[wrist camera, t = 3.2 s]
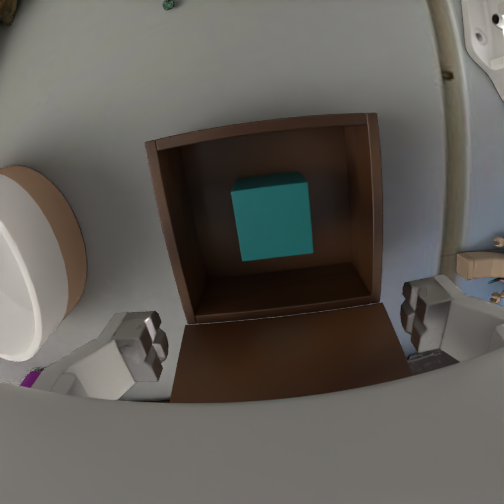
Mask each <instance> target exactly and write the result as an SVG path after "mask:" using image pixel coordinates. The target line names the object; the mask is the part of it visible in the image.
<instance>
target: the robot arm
mask: <svg viewBox="0 0 504 504" xmlns="http://www.w3.org/2000/svg"><path fill="white" fill-rule="evenodd" d="M461 5H462V13H463V23H464V36H465V47H466V50H467V52H468V54H469V55H470V57H471V58H472V59H473V60H474V61H475V62H476V63H477V64H478V65H479V66H480V67H481V68H482V69H483V70H484V71H485V72H486V73H487V74H488V76H489V77H490V78H491V80H492V82H493V84H494V86H495V87H496V89H497V91H498V93H499V95H500V97H501V98H502V100H503V102H504V0H461ZM476 36H477V38H478V40H477V38H476ZM402 294H403V296H404V297H405V301H404V302H403V303H402V305H401V312H400V316H401V323H402V326H403V328H404V330H405V332H407V333H409V334H411V342H412V344H413V345H414V347H415V349H416V350H417V352H418V353H420V352H424V351H429V350H433V349H437V348H440V349H441V350H442V351H444V352H446V353H447V354H449V355H450V356H452V357H453V358H455V359H456V360H458V361H460V363H456V364H453V365H450V366H447V367H443V368H440V369H437V370H433V371H429V372H426V373H422V374H418V375H414V376H411V377H407V378H402V379H398V380H394V381H390V382H385V383H380V384H376V385H371V386H366V387H361V388H355V389H350V390H344V391H338V392H331V393H325V394H318V395H311V396H303V397H294V398H285V399H275V400H263V401H249V402H230V403H152V402H134V401H120V400H118V399H119V398H120V397H121V396H122V395H123V394H124V393H125V392H126V391H128V390H129V389H130V388H131V387H132V386H133V385H134V384H135V382H158V380H159V378H160V375H161V372H162V369H163V367H162V365H161V363H162V362H163V361H164V360H166V358H167V355H168V340H167V336H166V333H165V332H164V331H163V330H161V329H160V328H159V327H160V324H161V319H160V317H159V314H158V313H157V312H156V311H146V312H122V313H115V314H114V315H113V317H112V318H111V320H110V321H109V323H108V324H107V326H106V327H105V329H104V330H103V332H102V333H101V335H100V336H99V338H98V339H93V340H92V341H90V342H88V343H87V344H85V345H83V346H82V347H80V348H78V349H77V350H75V351H73V352H72V353H70V354H68V355H67V356H65V357H63V358H62V359H60V360H58V361H57V362H55V363H53V364H52V365H50V366H48V367H47V368H45V369H43V371H42V372H41V374H40V375H39V376H38V378H37V379H36V381H35V382H34V384H33V385H32V387H31V388H28V387H23V386H18V385H14V384H9V383H5V382H1V381H0V504H504V307H501V306H499V305H496V304H493V303H490V302H487V301H484V300H482V299H479V298H476V297H473V296H466V295H465V294H464V293H463V292H462V291H461V290H460V289H459V288H458V287H457V286H456V285H455V284H454V283H453V282H452V281H451V280H450V279H449V278H448V277H447V276H446V275H443V274H442V275H438V276H433V277H429V278H424V279H419V280H414V281H409V282H405V283H404V286H403V292H402Z"/></svg>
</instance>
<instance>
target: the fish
mask: <svg viewBox="0 0 504 504" xmlns="http://www.w3.org/2000/svg"><path fill="white" fill-rule="evenodd" d="M16 4H17V0H0V20H1V21H2V22H3V23H4V25H5V26H7V27H8V26H11V23H12V22H13V19H14V16H13V14H14V13H15V11H16ZM11 7H12V8H11ZM10 9H11V10H10Z"/></svg>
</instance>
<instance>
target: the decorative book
mask: <svg viewBox="0 0 504 504" xmlns="http://www.w3.org/2000/svg"><path fill="white" fill-rule="evenodd" d="M167 2H168V3H167ZM173 7H174V2H173V0H165V1H164V2H163V8H164V9H165V10H169V9H172V8H173Z"/></svg>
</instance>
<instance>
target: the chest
mask: <svg viewBox="0 0 504 504" xmlns="http://www.w3.org/2000/svg"><path fill="white" fill-rule="evenodd" d="M145 148H146V154H147V159H148V164H149V169H150V174H151V179H152V184H153V189H154V194H155V199H156V203H157V208H158V212H159V217H160V221H161V225H162V229H163V234H164V238H165V242H166V246H167V250H168V254H169V258H170V262H171V266H172V270H173V273H174V277H175V281H176V284H177V288H178V292H179V295H180V299H181V302H182V306H183V309H184V313H185V316H186V320H187V323H188V324H197V323H198V324H201V323H215V322H227V321H238V320H249V319H259V318H268V317H278V316H286V315H295V314H303V313H311V312H319V311H326V310H333V309H340V308H347V307H354V306H360V305H367V304H370V303H371V304H373V303H379V302H380V294H381V278H382V253H383V192H382V168H381V151H380V138H379V127H378V117H377V113H348V114H328V115H314V116H301V117H290V118H281V119H272V120H263V121H255V122H248V123H241V124H234V125H228V126H221V127H216V128H210V129H204V130H199V131H193V132H188V133H183V134H178V135H174V136H169V137H164V138H160V139H156V140H151V141H147V142H145ZM296 171H298V172H299V173H300V174H301V175H302V176H303V177H304V179H305V180H306V181H307V182H308V190H309V201H310V212H311V224H312V237H313V251H314V252H313V253H309V254H301V255H292V256H284V257H275V258H267V259H258V260H250V261H242V257H241V251H240V245H239V239H238V233H237V227H236V221H235V215H234V208H233V202H232V196H231V191H232V188H233V186H234V184H235V182H236V180H237V179H239V178H247V177H254V176H262V175H270V174H279V173H287V172H296Z"/></svg>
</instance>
